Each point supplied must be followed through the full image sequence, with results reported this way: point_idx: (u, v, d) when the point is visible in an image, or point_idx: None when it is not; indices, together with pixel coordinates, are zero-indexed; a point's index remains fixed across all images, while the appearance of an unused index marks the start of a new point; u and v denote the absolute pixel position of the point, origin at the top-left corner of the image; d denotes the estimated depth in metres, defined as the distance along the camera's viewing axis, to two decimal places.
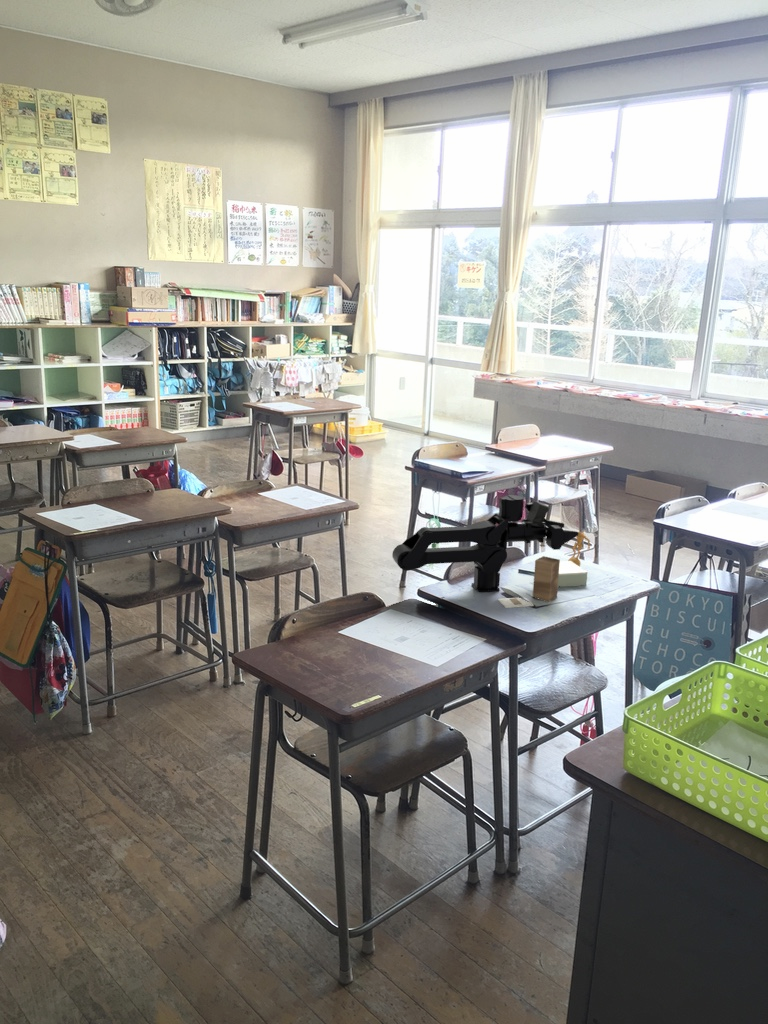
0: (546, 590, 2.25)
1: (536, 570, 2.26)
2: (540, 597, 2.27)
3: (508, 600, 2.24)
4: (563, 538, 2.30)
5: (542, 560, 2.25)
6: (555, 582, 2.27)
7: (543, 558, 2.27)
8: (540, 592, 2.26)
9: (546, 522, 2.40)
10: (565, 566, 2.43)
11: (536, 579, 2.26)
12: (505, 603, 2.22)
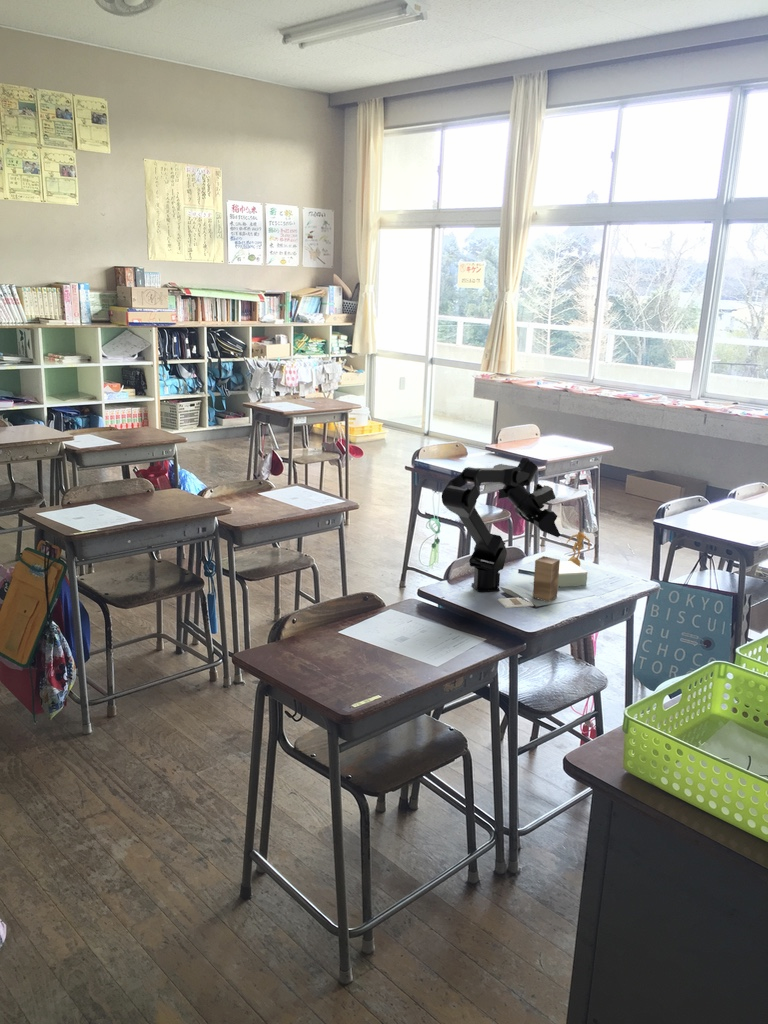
0: (546, 590, 2.25)
1: (536, 570, 2.26)
2: (540, 597, 2.27)
3: (508, 600, 2.24)
4: (548, 528, 2.37)
5: (542, 560, 2.25)
6: (555, 582, 2.27)
7: (543, 558, 2.27)
8: (540, 592, 2.26)
9: None
10: (565, 566, 2.43)
11: (536, 579, 2.26)
12: (505, 603, 2.22)
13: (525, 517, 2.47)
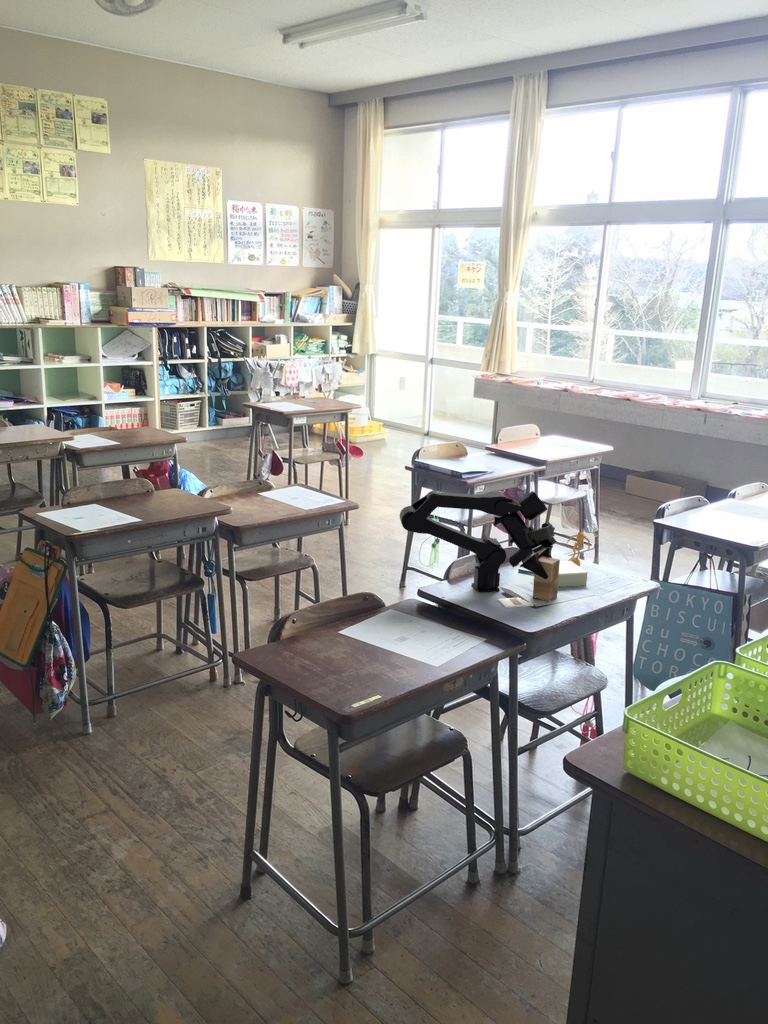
0: (546, 590, 2.25)
1: None
2: (540, 597, 2.27)
3: (508, 600, 2.24)
4: (531, 566, 2.25)
5: (542, 560, 2.25)
6: (555, 582, 2.27)
7: (543, 558, 2.27)
8: (540, 592, 2.26)
9: (546, 555, 2.29)
10: (565, 566, 2.43)
11: (536, 579, 2.26)
12: (505, 603, 2.22)
13: None
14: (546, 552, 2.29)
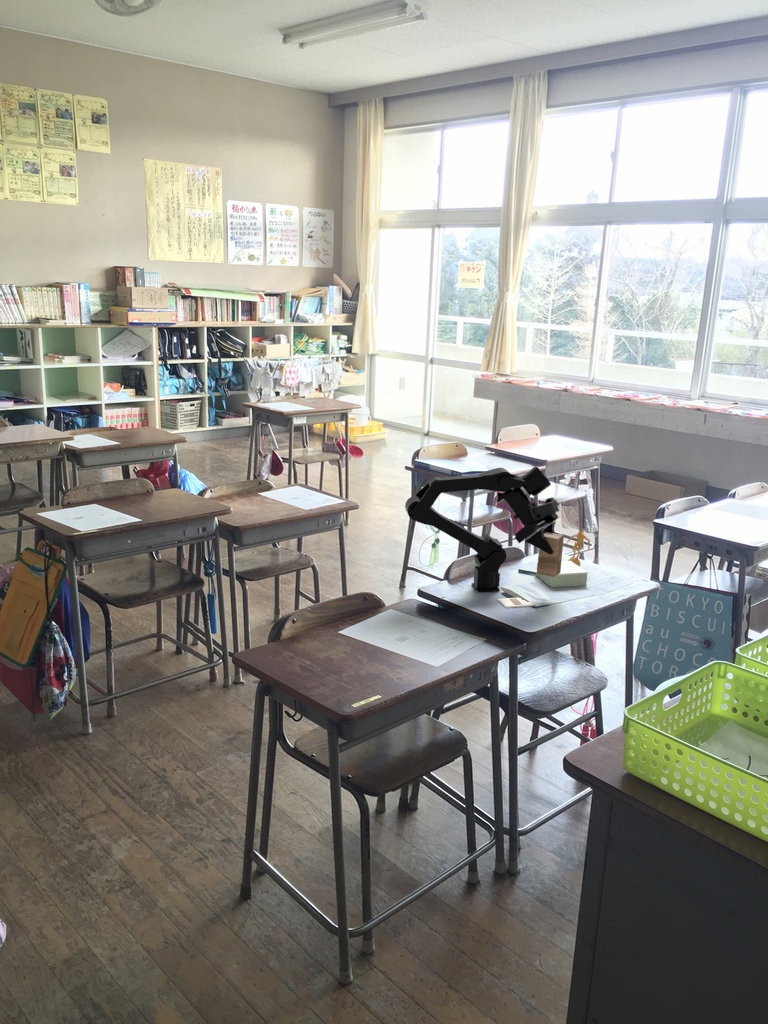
0: (551, 566, 2.24)
1: None
2: (545, 573, 2.26)
3: (508, 600, 2.24)
4: (536, 541, 2.24)
5: (547, 536, 2.24)
6: (559, 557, 2.26)
7: (547, 533, 2.26)
8: (545, 568, 2.25)
9: (550, 531, 2.29)
10: (565, 566, 2.43)
11: (541, 554, 2.25)
12: (505, 603, 2.22)
13: None
14: (549, 528, 2.28)
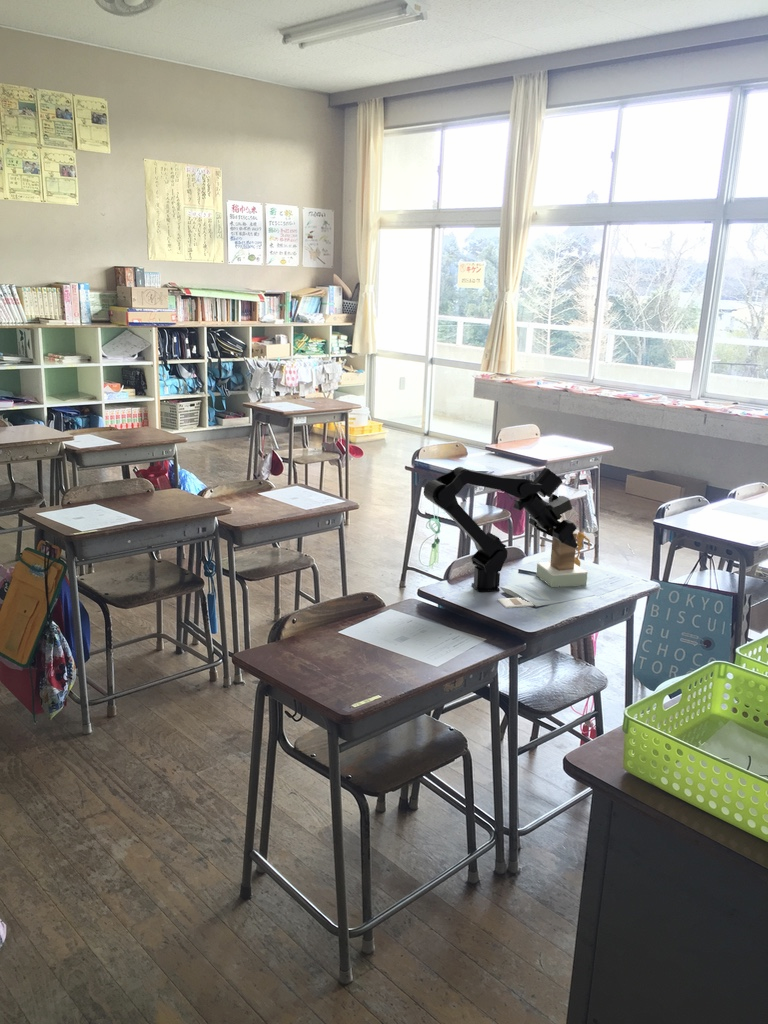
0: (571, 559, 2.40)
1: (562, 543, 2.37)
2: (566, 567, 2.40)
3: (508, 600, 2.24)
4: (566, 539, 2.33)
5: None
6: None
7: None
8: (566, 563, 2.39)
9: None
10: None
11: (562, 552, 2.38)
12: (505, 603, 2.22)
13: (540, 528, 2.43)
14: None
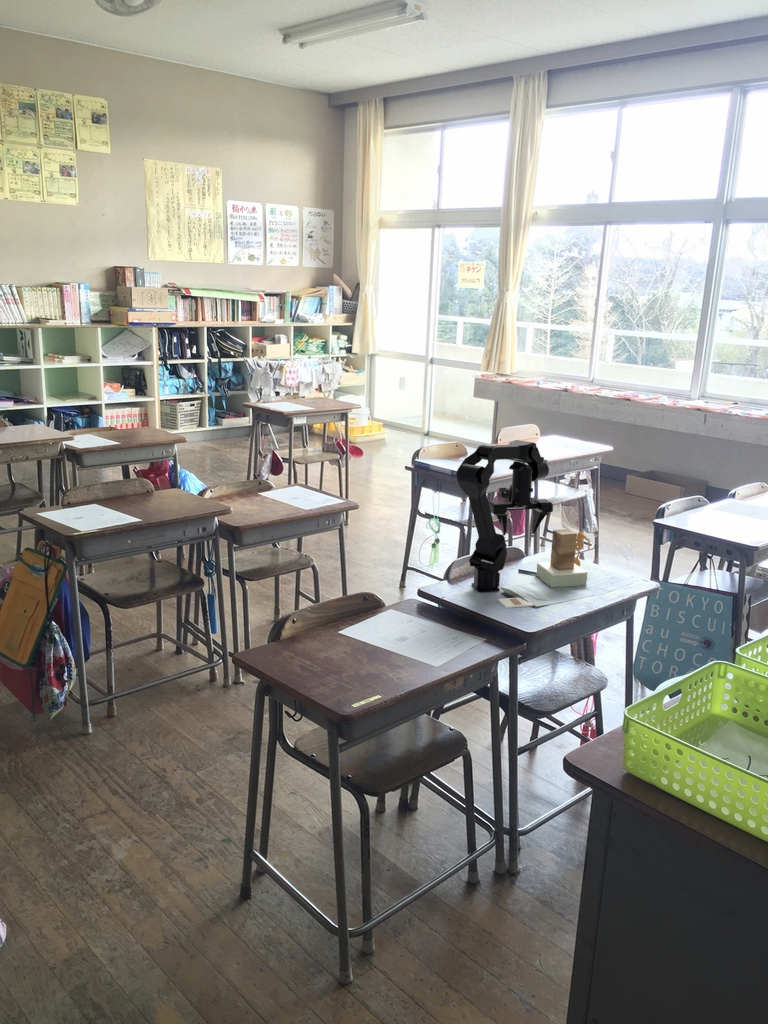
0: (571, 559, 2.40)
1: (562, 543, 2.37)
2: (566, 567, 2.40)
3: (508, 600, 2.24)
4: None
5: (565, 533, 2.38)
6: None
7: (559, 531, 2.40)
8: (566, 563, 2.39)
9: None
10: None
11: (562, 552, 2.38)
12: (505, 603, 2.22)
13: (505, 514, 2.38)
14: None
